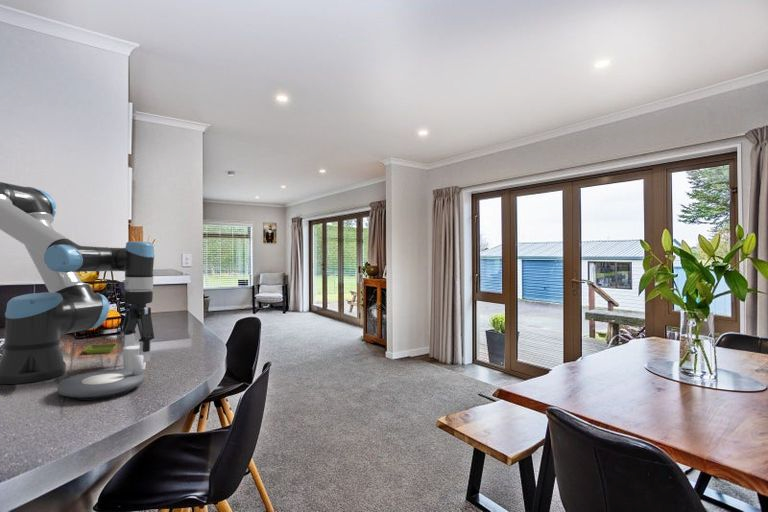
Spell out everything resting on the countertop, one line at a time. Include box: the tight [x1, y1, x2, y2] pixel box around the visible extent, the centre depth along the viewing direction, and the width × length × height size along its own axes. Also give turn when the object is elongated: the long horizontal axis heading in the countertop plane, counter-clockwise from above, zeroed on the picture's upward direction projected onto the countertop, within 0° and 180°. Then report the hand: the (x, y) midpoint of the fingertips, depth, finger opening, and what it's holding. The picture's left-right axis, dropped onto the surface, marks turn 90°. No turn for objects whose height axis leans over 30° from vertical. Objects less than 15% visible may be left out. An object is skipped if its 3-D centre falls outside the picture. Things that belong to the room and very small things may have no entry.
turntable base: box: [71, 389, 132, 401], centre depth 98 cm, size 13×13×1 cm
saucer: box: [83, 343, 118, 355], centre depth 137 cm, size 9×9×2 cm
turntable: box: [57, 355, 145, 398], centre depth 98 cm, size 18×18×6 cm
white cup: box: [122, 344, 147, 370], centre depth 118 cm, size 7×7×7 cm
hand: (136, 358), depth 118 cm, fingers open, 13 cm apart
